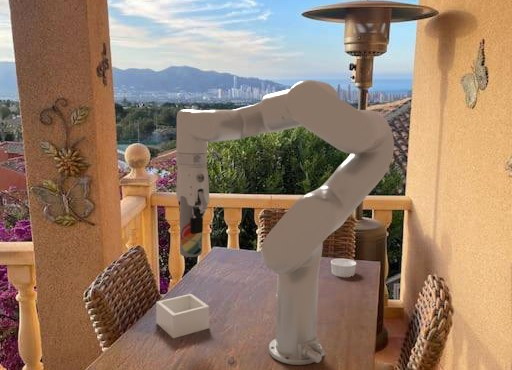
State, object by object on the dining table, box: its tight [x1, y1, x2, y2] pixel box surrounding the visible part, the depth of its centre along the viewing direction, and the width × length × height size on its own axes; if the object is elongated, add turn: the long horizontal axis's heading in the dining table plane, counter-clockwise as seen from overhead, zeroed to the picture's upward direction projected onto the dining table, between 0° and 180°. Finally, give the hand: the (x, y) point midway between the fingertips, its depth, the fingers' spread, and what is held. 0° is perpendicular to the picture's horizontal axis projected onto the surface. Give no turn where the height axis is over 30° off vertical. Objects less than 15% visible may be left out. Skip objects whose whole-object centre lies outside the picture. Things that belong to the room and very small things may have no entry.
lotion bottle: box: [179, 196, 203, 258], centre depth 122 cm, size 6×6×20 cm
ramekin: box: [330, 258, 357, 278], centre depth 167 cm, size 9×9×4 cm
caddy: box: [155, 293, 210, 339], centre depth 125 cm, size 10×10×6 cm
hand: (190, 229), depth 122 cm, fingers closed on lotion bottle, 5 cm apart
